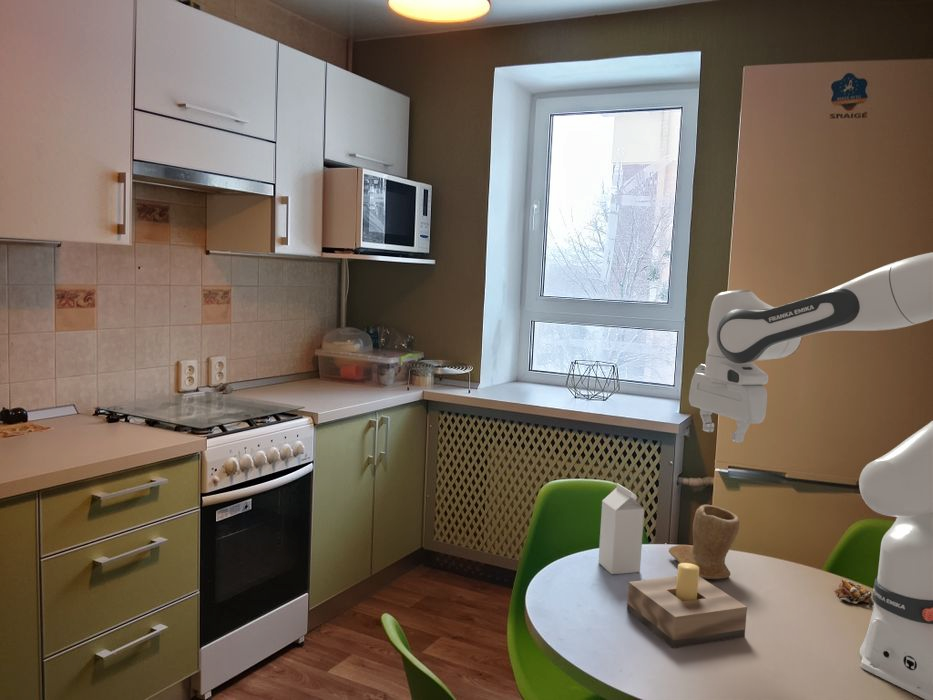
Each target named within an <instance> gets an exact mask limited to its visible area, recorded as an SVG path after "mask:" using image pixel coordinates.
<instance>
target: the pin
mask: <svg viewBox="0 0 933 700" xmlns="http://www.w3.org/2000/svg"><path fill="white" fill-rule="evenodd" d="M676 574H677V575H676V576H677V585H676V597H677V598H679V599H680V600H681V601H690V600H697V591H698V578H699V567H698V566H697V565H694V564H691V563H678V564H677V572H676Z"/></svg>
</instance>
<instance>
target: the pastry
mask: <svg viewBox="0 0 933 700" xmlns="http://www.w3.org/2000/svg"><path fill="white" fill-rule="evenodd" d="M833 592H834V593H835V595H836V596H837V597H838V599H839V600H844V601H846V602H848V603H852V604H858V603H859V602H865V603H868V604H869V605H868V607H869V608H872V609H873V607H874V602H872V601H871V597H872V592H871V591H870V590H867V588H865V587H864V586H862V584H859V583H858V584H856V583H854V582H852V581H850V580H848V581H847V580H846V579H844V578H842V579H841V583H839V585H838V588H837V589H835V590H834V591H833Z"/></svg>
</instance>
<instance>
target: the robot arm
mask: <svg viewBox="0 0 933 700" xmlns="http://www.w3.org/2000/svg"><path fill="white" fill-rule="evenodd" d="M710 305H711V306H710V310H709V315H708V324H707V335H708V346H707V349H706V354H705V364H703V363H700V364H699V365H698V366H697V367H696V368H694V374H693V375H692V378H691V382H690V386H689V387H690V388H689V394H688V401H689V405H690V406H691V407H694V408H697V409H700V410H699V415H700V418H701V420H702V431H704V432H707V433H713V432H714V430H715V423H713V422H712V417H711V415H712V414H713V413H714V414H716V415H719V416H723V417H726V418H728V419H729V418H730V419H732V420H735V422H736V423H735V424H736V425H735V426H737V427H736V430H735V431H733V432H732V433H731V440H732V441H733V442H734V443H735V442H736V443H738V444H740V443H744V441H745V434H746V432H747V431H748V429H749V427H750V425H751V424H752V425H753V424H754V425H755V424H756V425H757V424H761V423H763V422H764V420H765V418H766V415H767V407H768V406H767V405H768V391H767V388H766V387H765V385H767V384H768V382H769V374H768V373H767V372H766V371H764V370H763V369H761V368H759V366H757V365H756V364H755V363H753V362H756V361H766V360H773V359H774V360H776V359H777V360H778V359H783V358H786V357H789V356H791V355H793V354H795V352H796V351H797V350H798V348H799V347H800V345H801V342H802V340H803V339H802V338H803V337H806V336H810V335H813V334H818V333H824V332H835V331H836V332H838V331H840V332H841V331H851V332H852V331H855V332H857V331H861V332H868V331H869V332H871V331H874V332H875V331H877V332H878V331H888V330H895V329H896V330H897V329H901V328H907V327H911V326H915V325H918V324H921V323H925V322H928V321H931V320H933V252H932V251H931V252H927V253H923V254H918V255H916V256H911V257H907V258H904V259H901V260H897V261H894V262H892V263H888V264H886V265H882V266H881V267H879V268H876V269H873V270H871V271H868V272H866V273H864V274H862V275H860V276H857V277H855V278H853V279H851V280H848V281H847V282H844V283H842V284H839V285H837V286H834V287H833V288H830V289H828V290H826V291H824V292H821V293H818V294H816V295H813V296H808V297H806V298H802V299H799V300H796V301H793V302H789V303H786V304H783V305H780V306H776V307H774V306H772V305H771V304H768V303H766V302H764V301H763V300H761V299H760V298H759V297H758V296H757V295H756V293H754V292H753V291H752V290H748V289H737V290H727V291H722V292H719V293H717V295H715V296H714V298H713V300H712V302H711V304H710ZM858 486H859V487H858V488H859V492H860V496H861V498H862V499H863V501H864V502H865V504H866V505H867V507H869V508H870V509H871V510H872V511H873V512H875V513H877V514H879V515H882V516H888V517H894V518H896V519H895V521H894V522H893V524H892V525H891V527H890V528H888V530H887V531H886V532H885V533H884V535H883V537H882V539H881V542H880V552H879V559H878V560H879V562H878V569H877V570H878V571H877V577H876V578H875V579H874V584H873V589H872V600H873V605H874V607H873V608H872V614H871V617H870V621H869V625H868V629H867V631H866V634H865V637H864V639H863V642H862V644H861V646H860V647H859V655H860V657H861V662H860V667H861V668H862V669H863V670H865V671H867V672H869V673H870V674H872V675H875V676H877V677H878V678H881V679H883V680H885V681H887V682H889V683H890V684H893V685H895V686H897V687H900V688H901V689H903V690H906V691H907V692H909V693H911V694H913V695H915V696H917V697H920V698H921V699H922V700H923V699H924V700H933V420H931V421H930V422H929V423H927V424H926V425H924V426H923V427H922V428H920V429H919V430H917V431H915V432H914V433H912V435H910V436H908V437H907V438H906V439H904V440H903V441H902V442H901V443H900V444H898V445H897V446H895V447H894V448H893V449H891V450H889V451H888V452H887V453H886V454H883V455H881V456H880V457H878V458H875V460H872V461H871V462H868V463H867V464H866V465H865V467H863V468H862V471H860V475H859V480H858Z"/></svg>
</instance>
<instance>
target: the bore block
mask: <svg viewBox="0 0 933 700" xmlns="http://www.w3.org/2000/svg"><path fill="white" fill-rule="evenodd" d="M676 585H677V575H676V576H669V577H668V576H667V577H660V578H659V577H658V578H651V579H642V580H636V581H635V580H634V581H628V587H627V588H628V589H627V602H626V603H627V604H626V611H627V613H629V614H630V615H632V616H633V617H634V618H636V619H637V620H638V621H639V622H641V623H642V624H643V625H644V626H645V627H646V628H648V629H649V630H650V631H652V633H654V635H656V636H657V637H659V638H660V639H661V640H663V642H665V643H666V644H667V645H669V647H671V648H672V649H676V648H683V647H688V646H694V645H695V646H696V645H701V644H708V643H714V642H722V641H727V640H733V639H734V640H735V639H740V638H745V636H746V627H747V626H746V624H747V623H746V622H747V613H748V606H747V605H745V604H744V603H742V602H741V601H739V600H737V599H736V598H734V597H732V596H731V595H729V594H728V593H726V592H724V590H721V589H720V588H718V587H717V586H715V585H714V584H712V583H711V582H709V581H707V580H706V579H705V578H701V577H700V576H699V578H698V591H697V600H690V601H681V600H680V599H679V598H677V597H676Z"/></svg>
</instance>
